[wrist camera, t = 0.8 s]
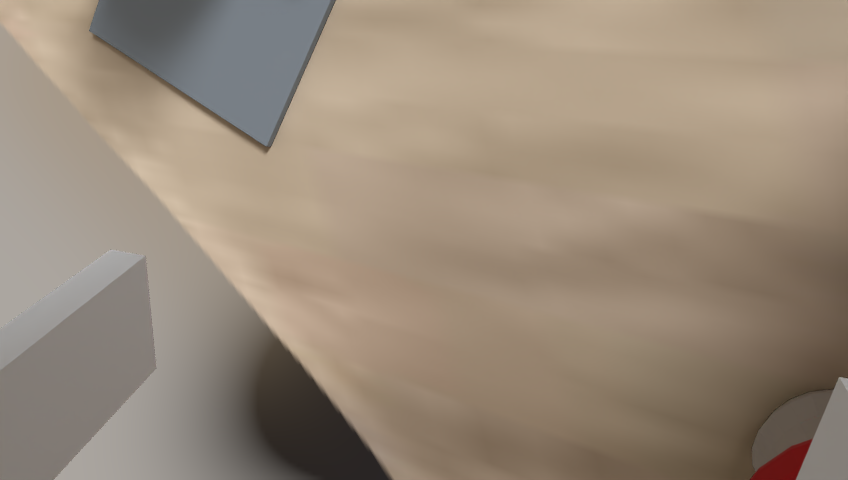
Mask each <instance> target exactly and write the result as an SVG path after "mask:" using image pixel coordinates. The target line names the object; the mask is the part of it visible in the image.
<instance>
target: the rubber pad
mask: <svg viewBox="0 0 848 480" xmlns="http://www.w3.org/2000/svg"><path fill="white" fill-rule="evenodd" d="M334 3H335V0H99V2H98V5H97V8H96V11H95V14H94V17H93V20H92V23H91V26H90V29H89V31H90V32H92V33H93V34H95V35H96V36H98V37H99V38H101V39H102V40H104V41H105V42H107V43H109V44H110V45H112V46H113V47H115V48H116V49H118V50H119V51H121V52H122V53H124V54H125V55H127V56H128V57H130V58H131V59H133V60H135V61H136V62H138V63H139V64H141V65H142V66H144V67H145V68H147V69H148V70H150V71H151V72H153V73H154V74H156V75H157V76H159V77H161V78H162V79H164V80H165V81H167V82H168V83H170V84H171V85H173V86H174V87H176V88H177V89H179V90H180V91H182V92H183V93H185V94H187V95H188V96H190V97H191V98H193V99H194V100H196V101H197V102H199V103H200V104H202V105H203V106H205V107H206V108H208V109H210V110H211V111H213V112H214V113H216V114H217V115H219V116H220V117H222V118H223V119H225V120H226V121H228V122H229V123H231V124H232V125H234V126H236V127H237V128H239V129H240V130H242V131H243V132H245V133H246V134H248V135H249V136H251V137H252V138H254V139H255V140H257V141H258V142H260V143H262V144H263V145H265V146H266V147H271V145H272V143H273V141H274V138H275V136H276V134H277V131H278V129H279V127H280V125H281V122H282V120H283V118H284V116H285V113H286V111H287V109H288V107H289V104H290V102H291V100H292V98H293V95H294V93H295V91H296V88H297V86H298V84H299V82H300V79H301V77H302V75H303V73H304V70H305V68H306V66H307V64H308V61H309V59H310V57H311V55H312V52H313V50H314V48H315V46H316V43H317V41H318V39H319V36H320V34H321V32H322V30H323V27H324V25H325V23H326V21H327V18H328V16H329V14H330V12H331V9H332V7H333V5H334Z"/></svg>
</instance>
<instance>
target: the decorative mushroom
mask: <svg viewBox="0 0 848 480" xmlns="http://www.w3.org/2000/svg"><path fill="white" fill-rule="evenodd" d="M832 393H833V390H830V389H828V390H821V391H814V392H808V393H805V394H803V395H800V396H798V397H795V398H792V399H790V400H789V401H787V402H786V403H784V404H783V405H781V406H780V407H779V408H777V409H776V410H775V411H774V412H773V413H772V414H771V415H770V417H769V418H768V419H767V420H766V422H765V423H764V424H763V425H762V427H761V428H760V429H759V431H758V433H757V435H756V438H755V441H754V443H753V446H752V465H753V467H754V469H755V471H756V472H755V474H754V475H753V476H752V478H751V479H750V480H796V478H797V476H798V473H799V471H800V469H801V466H802V464H803V462H804V459H805V457H806V454H807V452H808V450H809V447H810V445H811V443H812V440H813V438H814V435H815V433H816V431H817V428H818V426H819V423H820V421H821V419H822V416H823V414H824V412H825V409H826V407H827V404H828V402H829V400H830V397H831V395H832Z"/></svg>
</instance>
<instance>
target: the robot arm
mask: <svg viewBox="0 0 848 480" xmlns="http://www.w3.org/2000/svg"><path fill="white" fill-rule="evenodd" d="M155 369H156V360H155V349H154V339H153V328H152V318H151V308H150V297H149V286H148V275H147V265H146V256H145V255H139V254H134V253H128V252H122V251H117V250H109V251H108V252H106V253H105V254H104V255H102V256H101V257H99V258H98V259H96V260H95V261H94V262H92V263H91V264H90V265H88V266H87V267H85V268H84V269H83V270H81V271H80V272H78V273H77V274H75V275H74V276H73V277H71V278H70V279H69V280H67V281H66V282H64V283H63V284H62V285H60V286H59V287H57V288H56V289H55V290H53V291H52V292H50V293H49V294H48V295H46V296H45V297H43V298H42V299H41V300H39V301H38V302H36V303H35V304H34V305H32V306H31V307H29V308H28V309H27V310H25V311H24V312H22V313H21V314H20V315H18V316H17V317H15V318H14V319H13V320H11V321H10V322H9V323H7V324H6V325H4V326H3V327H2V328H0V480H54V479H55V477H56V476H57V475H58V474H59V473H60V472H61V471H62V470H63V469H64V468H65V467H66V465H68V463H69V462H70V461H71V460H72V459H73V458H74V457H75V456H76V455H77V454H78V452H80V450H81V449H82V448H83V447H84V446H85V445H86V444H87V443H88V442H89V441H90V440H91V438H92V437H93V436H94V435H95V434H96V433H97V432H98V431H99V430H100V429H101V428H102V427H103V426H104V424H105V423H106V422H107V421H108V420H109V419H110V418H111V417H112V416H113V415H114V414H115V413H116V412H117V410H118V409H119V408H120V407H121V406H122V405H123V404H124V403H125V402H126V401H127V400H128V399H129V397H130V396H131V395H132V394H133V393H134V392H135V391H136V390H137V389H138V388H139V386H141V384H142V383H143V382H144V381H145V380H146V379H147V378H148V377H149V376H150V375H151V374H152V373H153V371H154V370H155ZM796 480H848V378H842V377H839V378H838V381H837V383H836V385H835V388H834V390H833V393H832V395H831V397H830V400H829V402H828V404H827V407H826V409H825V412H824V414H823V416H822V419H821V421H820V423H819V426H818V428H817V431H816V433H815V435H814V438H813V440H812V443H811V445H810V447H809V450H808V452H807V454H806V457H805V459H804V462H803V464H802V466H801V469H800V471H799V473H798V476H797V478H796Z"/></svg>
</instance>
